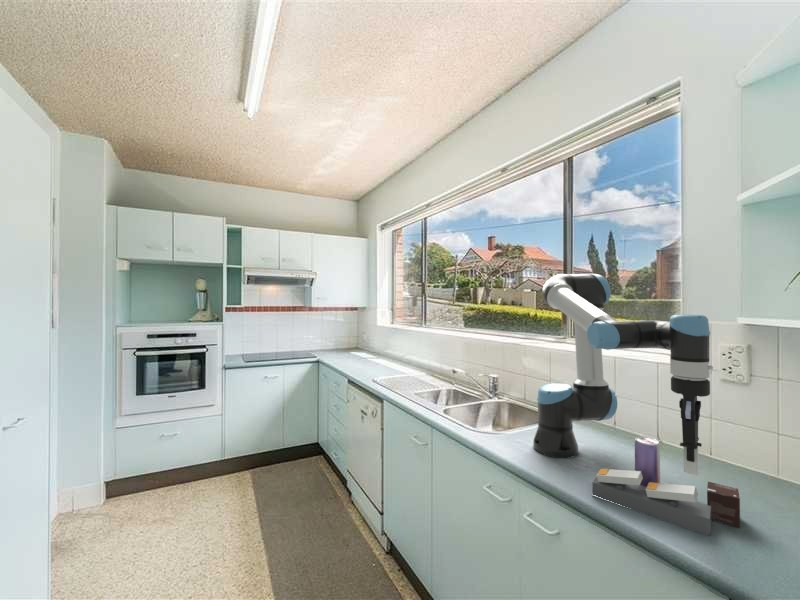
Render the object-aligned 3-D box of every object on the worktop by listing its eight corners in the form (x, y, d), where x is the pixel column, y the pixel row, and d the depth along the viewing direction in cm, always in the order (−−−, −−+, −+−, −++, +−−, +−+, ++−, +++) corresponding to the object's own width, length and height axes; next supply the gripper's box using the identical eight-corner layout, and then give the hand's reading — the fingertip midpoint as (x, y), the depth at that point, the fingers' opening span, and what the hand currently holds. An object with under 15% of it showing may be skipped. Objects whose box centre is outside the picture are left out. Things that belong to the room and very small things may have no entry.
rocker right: (647, 497, 93) (645, 488, 93) (651, 489, 96) (648, 481, 96) (696, 502, 86) (693, 493, 86) (697, 493, 89) (695, 485, 90)
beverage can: (649, 499, 98) (648, 445, 98) (629, 488, 104) (629, 437, 104) (665, 496, 100) (665, 442, 100) (645, 485, 106) (645, 435, 106)
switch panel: (592, 496, 101) (592, 479, 101) (599, 486, 106) (599, 470, 106) (709, 536, 83) (709, 515, 83) (711, 522, 89) (711, 502, 89)
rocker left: (598, 481, 100) (596, 474, 101) (603, 475, 104) (601, 467, 104) (639, 485, 94) (637, 477, 94) (642, 478, 97) (640, 470, 98)
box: (739, 517, 90) (739, 488, 90) (740, 529, 86) (740, 499, 86) (707, 508, 94) (707, 480, 94) (707, 519, 90) (706, 490, 90)
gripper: (708, 384, 81) (709, 488, 81) (711, 374, 90) (712, 468, 90) (667, 379, 86) (668, 477, 86) (674, 371, 95) (675, 459, 96)
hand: (691, 472), depth 88 cm, fingers closed
